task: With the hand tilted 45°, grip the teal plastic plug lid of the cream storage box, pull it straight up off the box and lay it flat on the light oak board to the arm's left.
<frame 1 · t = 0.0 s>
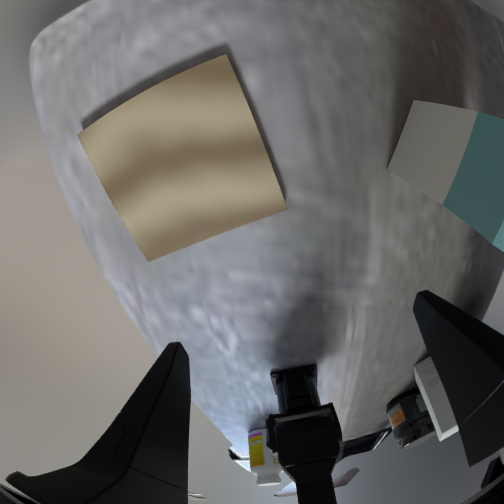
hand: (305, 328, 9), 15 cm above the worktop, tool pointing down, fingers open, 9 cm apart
supplement bottle: (263, 431, 49), on the worktop
skincare box: (426, 365, 41), on the worktop
supplement container: (404, 398, 48), on the worktop
oak board: (180, 163, 20), on the worktop
teal lid: (486, 179, 13), point 8 cm above the worktop, touching cream storage box
cream storage box: (427, 150, 20), on the worktop
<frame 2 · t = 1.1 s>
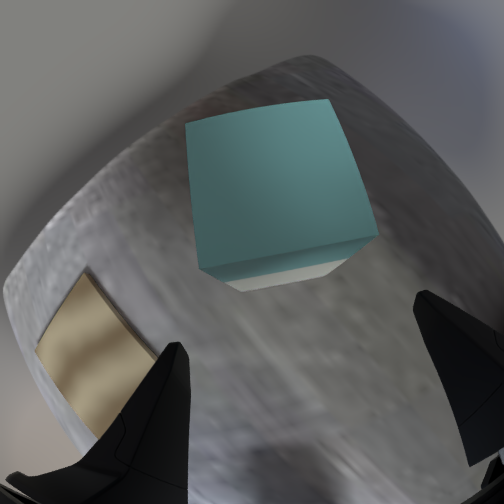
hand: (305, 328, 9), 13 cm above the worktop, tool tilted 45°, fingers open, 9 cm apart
oak board: (92, 361, 23), on the worktop
teal lid: (274, 210, 16), point 8 cm above the worktop, touching cream storage box
cream storage box: (275, 243, 24), on the worktop
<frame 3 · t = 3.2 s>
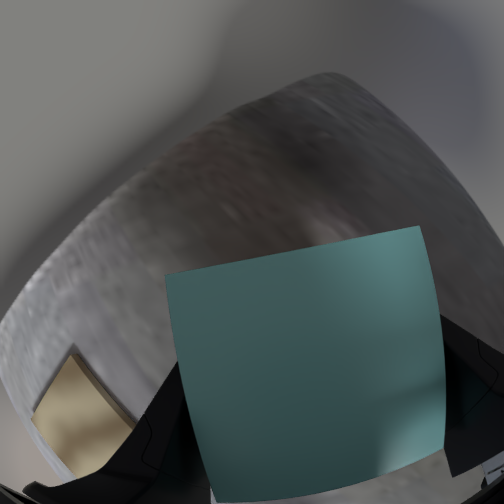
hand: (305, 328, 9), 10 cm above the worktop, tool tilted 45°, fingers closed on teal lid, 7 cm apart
oak board: (91, 440, 18), on the worktop
teal lid: (305, 356, 11), point 8 cm above the worktop, touching cream storage box, gripper
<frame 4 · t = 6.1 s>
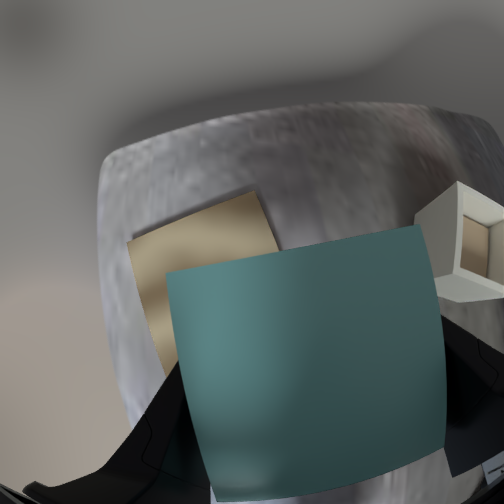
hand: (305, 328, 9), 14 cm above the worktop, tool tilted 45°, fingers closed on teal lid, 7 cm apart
oak board: (211, 285, 24), on the worktop
teal lid: (306, 355, 11), point 12 cm above the worktop, touching gripper
cream storage box: (438, 259, 22), on the worktop
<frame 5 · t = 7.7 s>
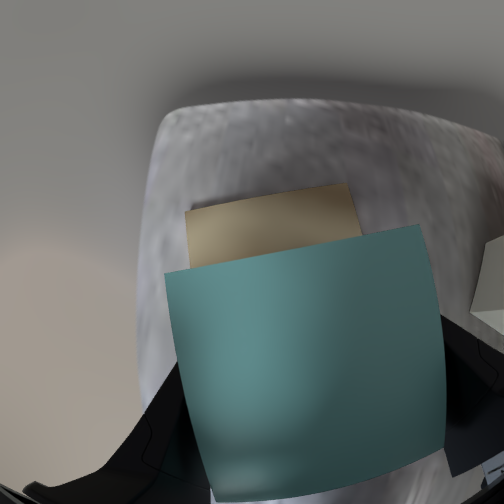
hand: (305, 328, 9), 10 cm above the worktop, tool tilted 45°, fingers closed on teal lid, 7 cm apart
oak board: (282, 281, 20), on the worktop
teal lid: (305, 356, 11), point 8 cm above the worktop, touching gripper
cream storage box: (499, 291, 18), on the worktop
when the fingers open (6 cm above the worktop, at t = 9.3 s): teal lid drops 2 cm, resting on oak board.
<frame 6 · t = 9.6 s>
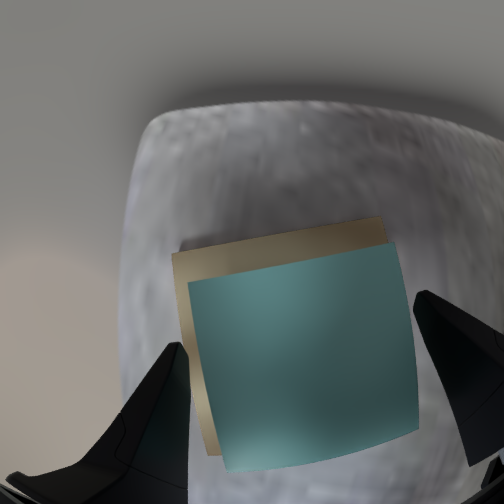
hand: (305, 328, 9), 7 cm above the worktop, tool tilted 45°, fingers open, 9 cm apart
oak board: (297, 344, 15), on the worktop
teal lid: (301, 349, 13), point 2 cm above the worktop, touching oak board
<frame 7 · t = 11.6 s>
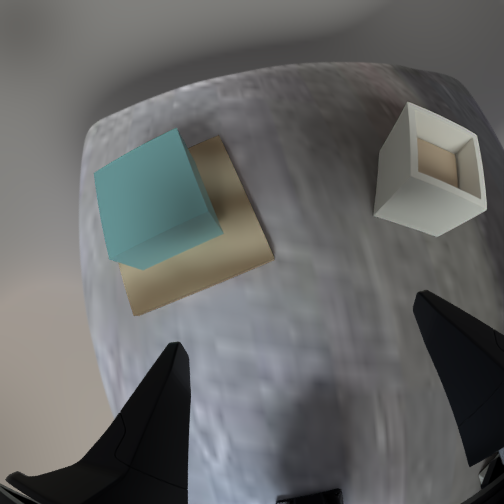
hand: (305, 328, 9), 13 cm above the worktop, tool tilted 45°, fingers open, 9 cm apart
oak board: (178, 222, 24), on the worktop
teal lid: (168, 213, 21), point 2 cm above the worktop, touching oak board
cream storage box: (409, 192, 23), on the worktop
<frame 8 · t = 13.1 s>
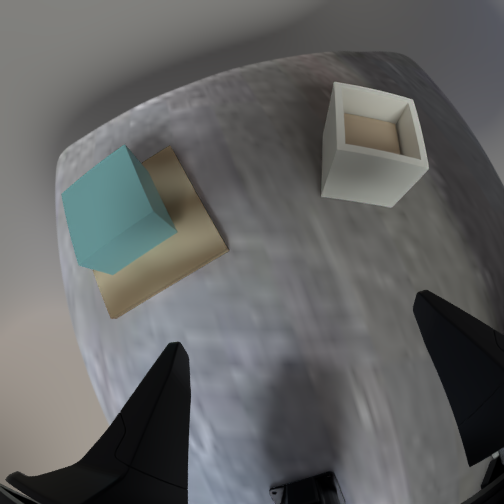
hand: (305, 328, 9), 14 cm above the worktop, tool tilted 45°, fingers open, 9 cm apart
oak board: (141, 229, 25), on the worktop
teal lid: (129, 221, 23), point 2 cm above the worktop, touching oak board
cream storage box: (356, 169, 25), on the worktop
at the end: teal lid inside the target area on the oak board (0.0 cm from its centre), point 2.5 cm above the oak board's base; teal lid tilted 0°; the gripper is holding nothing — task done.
